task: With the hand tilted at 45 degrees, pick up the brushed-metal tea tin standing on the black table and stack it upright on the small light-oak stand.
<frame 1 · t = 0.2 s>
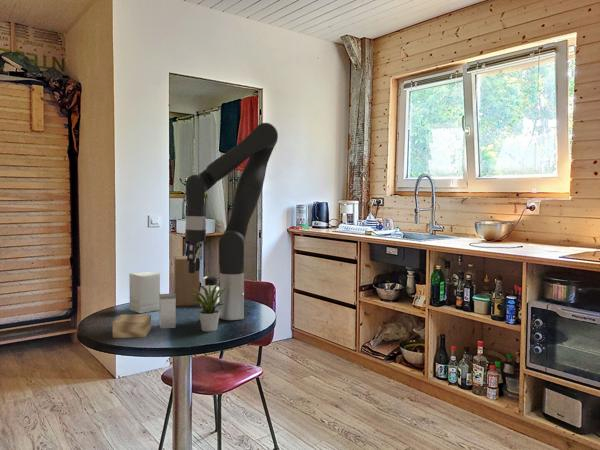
hand: (194, 271, 175), 18 cm above the table, tool pointing down, fingers open, 8 cm apart
wooden block: (186, 303, 202), on the table
tea tin: (167, 326, 165), on the table
oak stand: (132, 333, 156), on the table
supplement box: (144, 310, 188), on the table
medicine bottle: (209, 305, 200), on the table
house plant: (212, 329, 163), on the table
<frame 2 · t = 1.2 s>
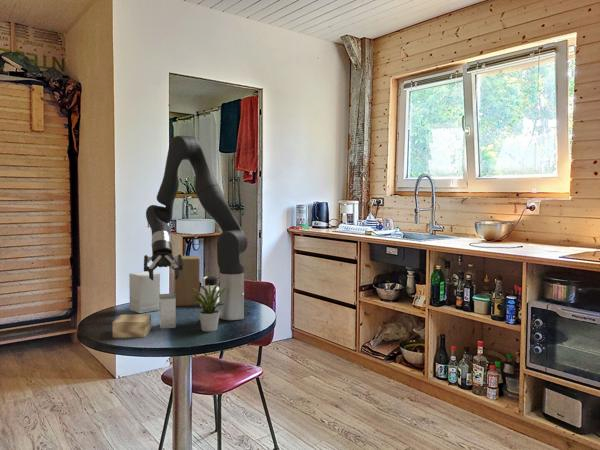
hand: (164, 278, 174), 15 cm above the table, tool tilted 45°, fingers open, 8 cm apart
nothing on the table moved.
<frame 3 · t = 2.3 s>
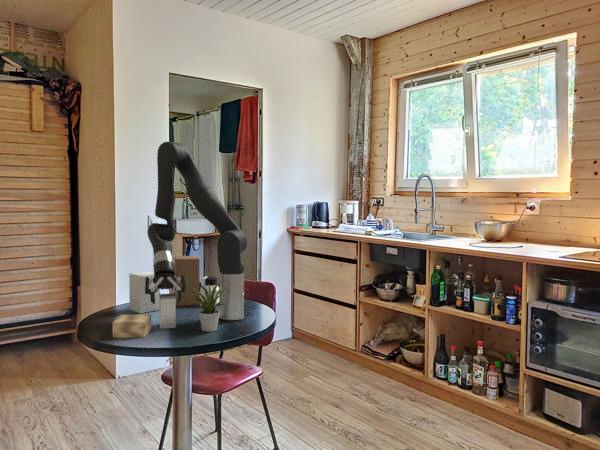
hand: (166, 302, 166), 8 cm above the table, tool tilted 45°, fingers open, 8 cm apart
nothing on the table moved.
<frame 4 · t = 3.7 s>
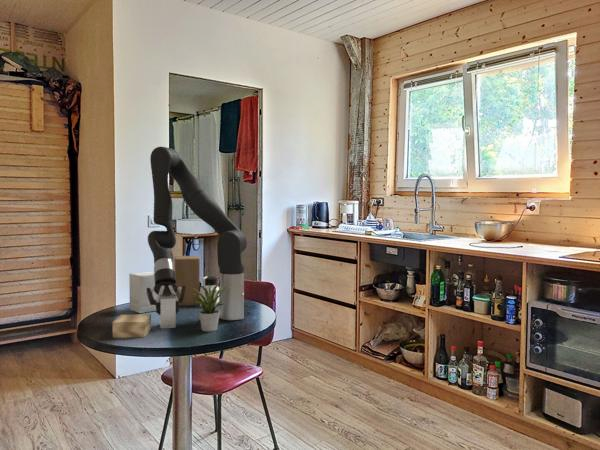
hand: (168, 312, 163), 5 cm above the table, tool tilted 45°, fingers closed on tea tin, 5 cm apart
tea tin: (167, 326, 165), on the table, touching gripper
everything else where it was.
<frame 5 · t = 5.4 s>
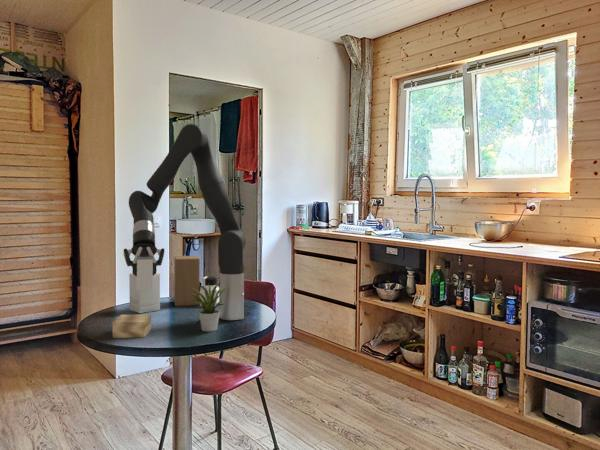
hand: (144, 274, 157), 19 cm above the table, tool tilted 45°, fingers closed on tea tin, 5 cm apart
tea tin: (144, 288, 159), point 14 cm above the table, touching gripper
everything else where it was.
when the fingers open (12 cm above the table, at t = 7.6 s): tea tin drops 1 cm, resting on oak stand.
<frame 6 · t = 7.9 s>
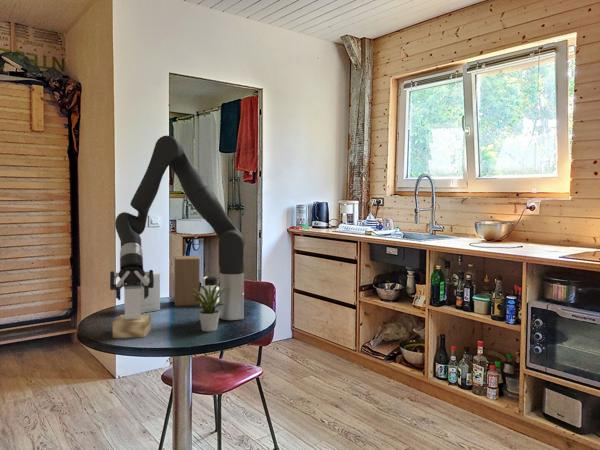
hand: (132, 298, 154), 12 cm above the table, tool tilted 45°, fingers open, 7 cm apart
tea tin: (132, 318, 156), point 5 cm above the table, touching oak stand
everything else where it was.
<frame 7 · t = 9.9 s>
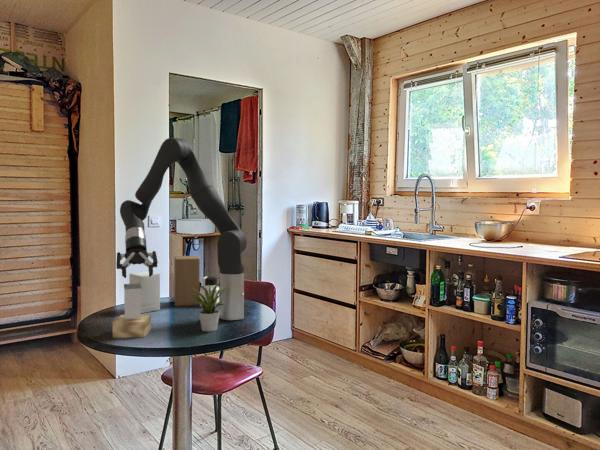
hand: (137, 276, 169), 17 cm above the table, tool tilted 45°, fingers open, 8 cm apart
nothing on the table moved.
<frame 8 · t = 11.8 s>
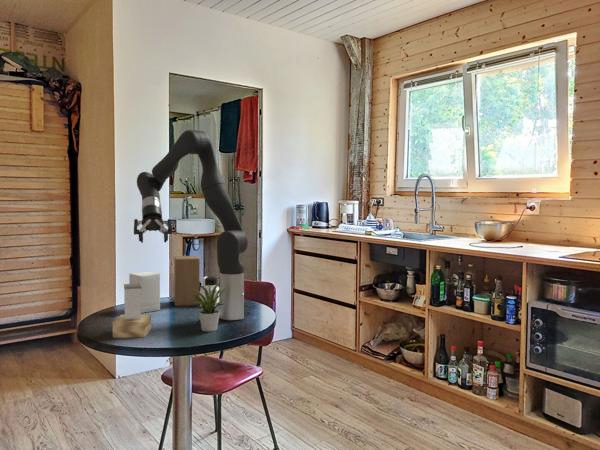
hand: (153, 241, 178), 29 cm above the table, tool tilted 45°, fingers open, 8 cm apart
nothing on the table moved.
at the end: tea tin inside the target area on the oak stand (0.1 cm from its centre), point 5.0 cm above the oak stand's base; tea tin tilted 0°; the gripper is holding nothing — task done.
